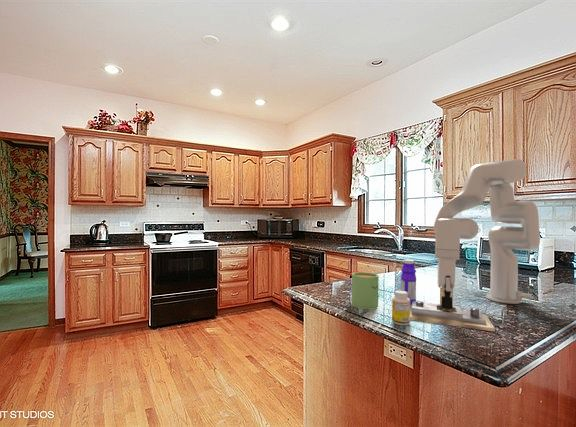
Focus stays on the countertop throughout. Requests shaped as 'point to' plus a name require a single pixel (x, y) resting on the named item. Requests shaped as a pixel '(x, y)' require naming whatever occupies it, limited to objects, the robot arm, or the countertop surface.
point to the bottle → (409, 279)
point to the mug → (365, 290)
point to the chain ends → (447, 313)
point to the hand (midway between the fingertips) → (446, 306)
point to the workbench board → (454, 322)
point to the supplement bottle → (401, 308)
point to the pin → (441, 300)
